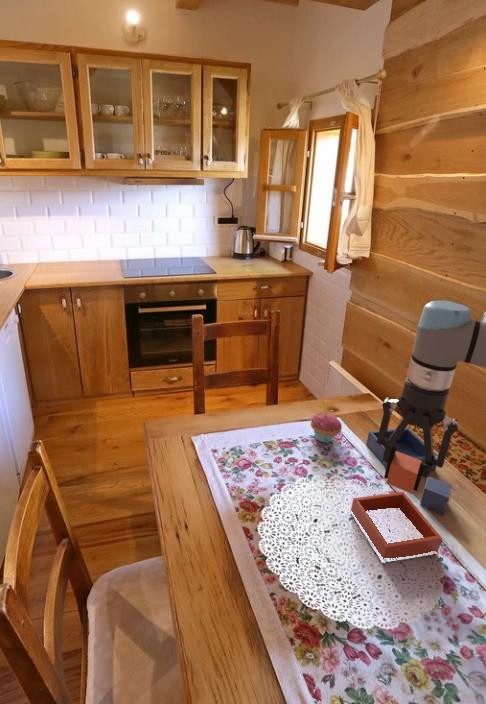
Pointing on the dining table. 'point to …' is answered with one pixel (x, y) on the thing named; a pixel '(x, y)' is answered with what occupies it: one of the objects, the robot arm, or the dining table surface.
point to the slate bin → (398, 445)
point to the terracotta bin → (411, 512)
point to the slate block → (435, 495)
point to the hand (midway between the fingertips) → (401, 480)
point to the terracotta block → (403, 472)
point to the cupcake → (325, 425)
